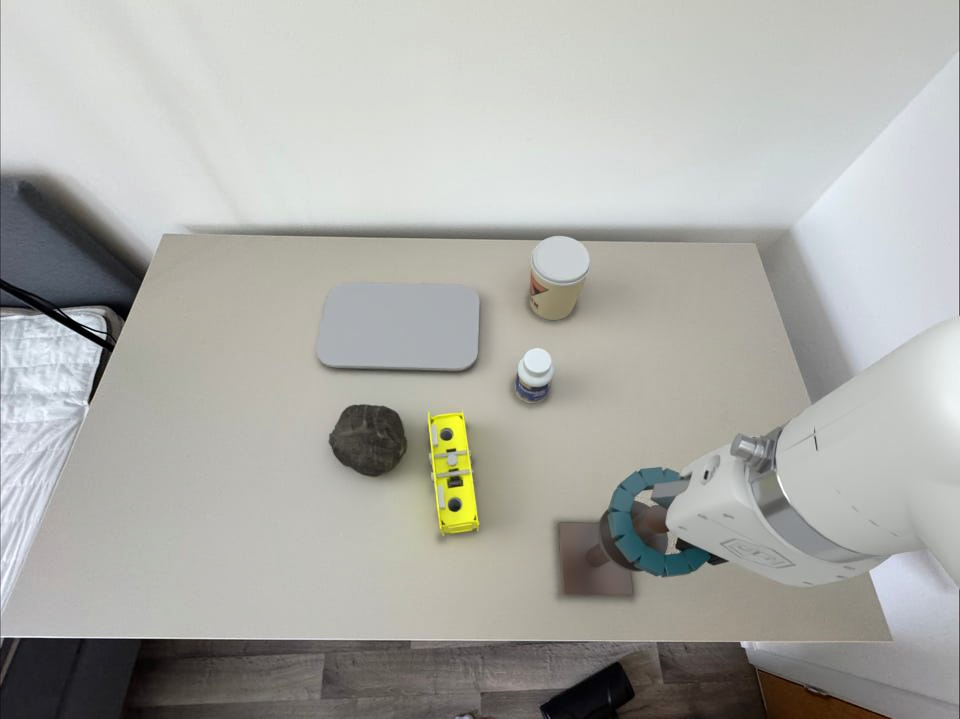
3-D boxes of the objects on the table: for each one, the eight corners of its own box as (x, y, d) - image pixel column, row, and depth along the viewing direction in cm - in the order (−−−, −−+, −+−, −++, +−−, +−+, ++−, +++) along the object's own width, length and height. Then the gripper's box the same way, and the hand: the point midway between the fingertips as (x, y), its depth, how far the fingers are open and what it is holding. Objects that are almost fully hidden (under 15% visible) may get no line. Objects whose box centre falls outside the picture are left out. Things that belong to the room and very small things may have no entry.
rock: (334, 412, 76) (325, 391, 67) (408, 414, 78) (409, 394, 69) (327, 479, 73) (316, 467, 64) (405, 480, 74) (406, 468, 65)
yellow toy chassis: (428, 429, 76) (423, 408, 69) (465, 424, 77) (464, 402, 69) (439, 538, 69) (435, 527, 61) (480, 531, 69) (481, 520, 62)
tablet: (477, 375, 81) (477, 369, 79) (316, 371, 81) (312, 364, 79) (480, 293, 88) (480, 285, 86) (333, 289, 89) (330, 281, 87)
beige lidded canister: (522, 281, 89) (528, 235, 79) (574, 279, 90) (587, 232, 79) (527, 325, 85) (534, 283, 74) (582, 323, 85) (596, 280, 75)
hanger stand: (622, 524, 70) (701, 468, 45) (631, 595, 65) (723, 576, 41) (558, 523, 70) (601, 467, 45) (562, 594, 65) (613, 575, 41)
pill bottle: (511, 400, 79) (515, 372, 70) (518, 370, 81) (522, 340, 72) (545, 407, 78) (553, 380, 69) (551, 377, 80) (559, 347, 72)
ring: (719, 496, 45) (727, 492, 43) (697, 595, 41) (705, 594, 39) (624, 457, 46) (629, 451, 45) (594, 548, 43) (598, 545, 41)
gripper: (665, 488, 27) (595, 541, 43) (995, 627, 24) (785, 628, 40) (697, 374, 30) (621, 463, 46) (991, 483, 27) (798, 538, 43)
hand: (698, 539), depth 43 cm, fingers closed on ring, 2 cm apart
